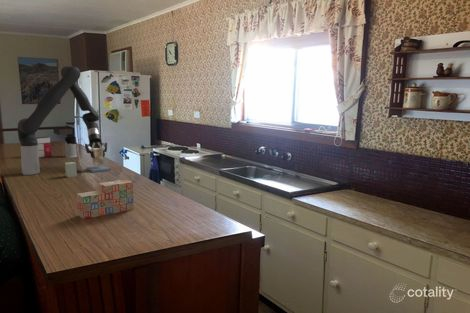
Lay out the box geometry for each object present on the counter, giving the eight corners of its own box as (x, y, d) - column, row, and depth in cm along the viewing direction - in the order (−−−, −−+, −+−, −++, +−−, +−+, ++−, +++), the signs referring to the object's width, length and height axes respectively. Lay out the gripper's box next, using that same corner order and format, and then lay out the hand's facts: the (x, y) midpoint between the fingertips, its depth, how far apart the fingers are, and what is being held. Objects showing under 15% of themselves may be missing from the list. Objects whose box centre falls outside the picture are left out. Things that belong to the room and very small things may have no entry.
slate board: (93, 172, 234) (93, 170, 234) (86, 169, 244) (86, 167, 244) (110, 170, 241) (110, 168, 241) (103, 167, 251) (103, 165, 251)
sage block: (68, 177, 221) (67, 164, 220) (65, 176, 225) (64, 162, 223) (76, 176, 224) (76, 163, 223) (74, 175, 228) (73, 161, 227)
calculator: (37, 158, 283) (36, 138, 281) (35, 157, 286) (33, 137, 284) (52, 156, 292) (50, 137, 290) (49, 155, 295) (48, 136, 292)
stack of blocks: (83, 219, 149) (81, 189, 147) (77, 215, 153) (76, 186, 151) (133, 209, 163) (132, 181, 161) (127, 206, 167) (126, 178, 165)
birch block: (95, 165, 239) (94, 149, 237) (92, 163, 242) (92, 148, 241) (103, 164, 242) (102, 148, 240) (100, 162, 246) (99, 147, 244)
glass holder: (65, 156, 294) (63, 136, 292) (84, 155, 300) (83, 136, 297) (65, 157, 286) (64, 138, 284) (85, 156, 292) (84, 137, 290)
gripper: (82, 133, 242) (86, 154, 234) (106, 132, 249) (110, 152, 240) (82, 140, 247) (85, 161, 239) (105, 139, 254) (109, 159, 246)
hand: (98, 157), depth 240 cm, fingers closed on birch block, 5 cm apart
